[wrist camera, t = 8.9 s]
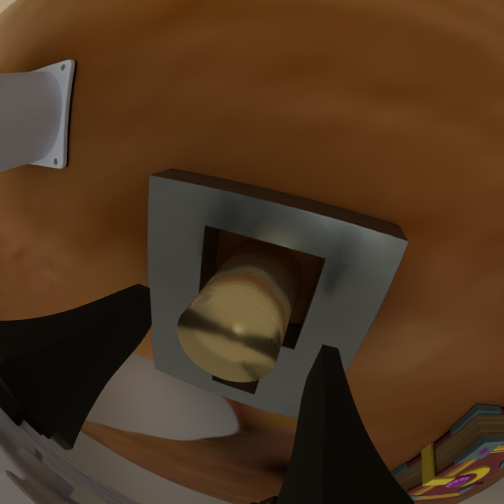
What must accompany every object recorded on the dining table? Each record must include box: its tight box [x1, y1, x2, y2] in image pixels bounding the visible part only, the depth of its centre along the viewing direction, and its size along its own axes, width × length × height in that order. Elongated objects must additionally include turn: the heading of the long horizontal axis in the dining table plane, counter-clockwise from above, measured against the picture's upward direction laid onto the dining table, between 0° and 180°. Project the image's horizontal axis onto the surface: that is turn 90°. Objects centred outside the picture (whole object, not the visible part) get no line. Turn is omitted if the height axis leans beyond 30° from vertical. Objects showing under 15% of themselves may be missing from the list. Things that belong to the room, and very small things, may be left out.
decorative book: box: [391, 404, 504, 502], centre depth 16 cm, size 11×16×5 cm
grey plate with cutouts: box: [148, 169, 408, 419], centre depth 16 cm, size 12×14×2 cm
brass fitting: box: [177, 239, 301, 382], centre depth 13 cm, size 4×4×6 cm
